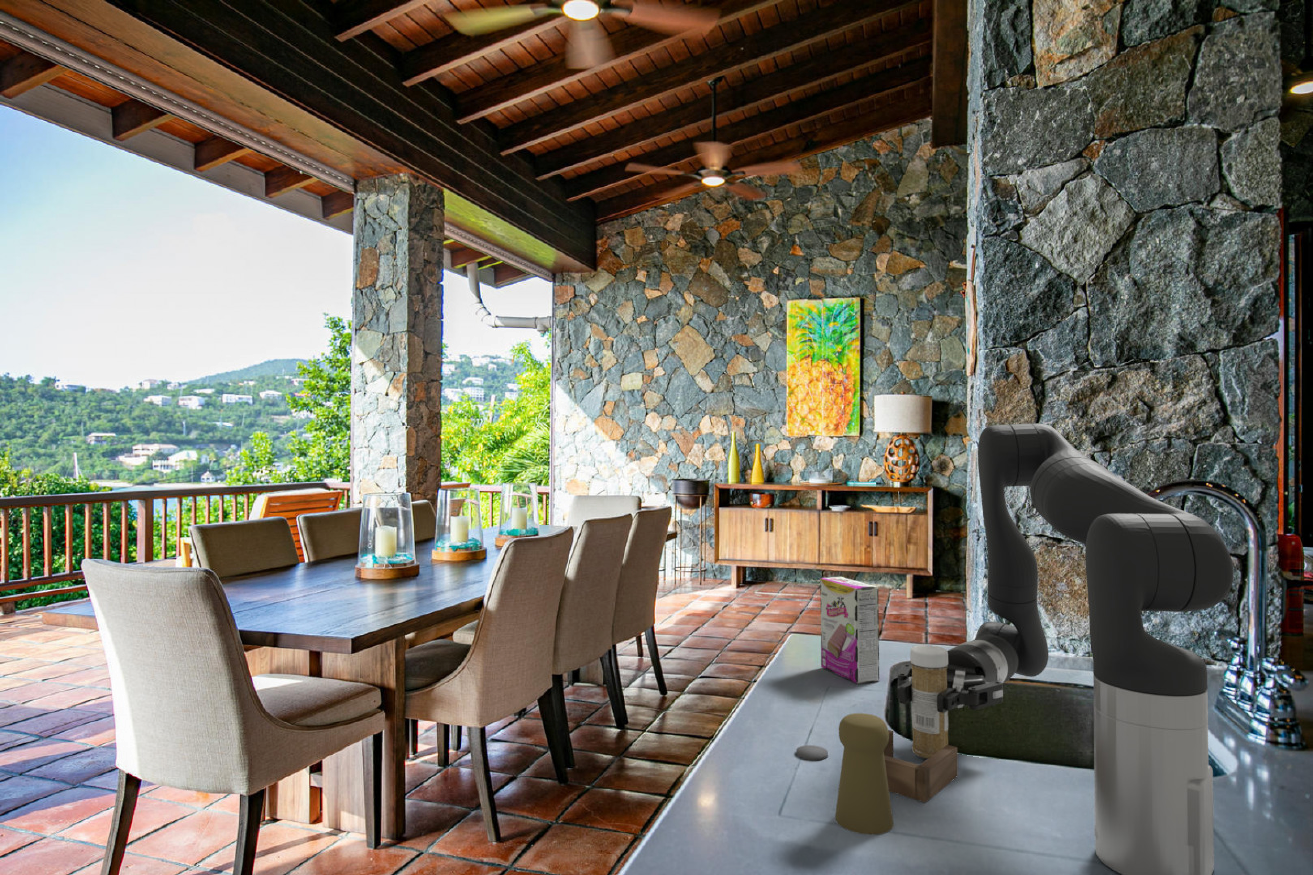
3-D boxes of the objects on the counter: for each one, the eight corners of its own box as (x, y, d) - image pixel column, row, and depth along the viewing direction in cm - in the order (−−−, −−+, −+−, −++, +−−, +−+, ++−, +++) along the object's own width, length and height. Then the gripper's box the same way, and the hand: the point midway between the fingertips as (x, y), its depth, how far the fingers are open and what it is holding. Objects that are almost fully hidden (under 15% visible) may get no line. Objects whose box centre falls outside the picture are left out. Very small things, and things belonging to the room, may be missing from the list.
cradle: (957, 776, 94) (957, 747, 94) (925, 802, 87) (925, 770, 87) (884, 756, 100) (884, 728, 100) (849, 778, 93) (849, 749, 93)
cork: (850, 802, 87) (849, 703, 87) (902, 818, 83) (902, 715, 83) (825, 822, 82) (824, 717, 83) (879, 840, 79) (878, 730, 79)
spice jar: (956, 755, 99) (955, 649, 99) (933, 763, 96) (932, 654, 96) (926, 744, 103) (925, 641, 103) (903, 751, 100) (902, 646, 100)
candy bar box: (819, 668, 141) (818, 577, 142) (842, 665, 143) (841, 575, 143) (856, 685, 131) (855, 587, 131) (880, 681, 133) (880, 585, 133)
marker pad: (833, 753, 101) (833, 750, 101) (817, 762, 98) (817, 759, 98) (806, 745, 104) (806, 742, 104) (790, 754, 101) (790, 751, 101)
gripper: (922, 636, 115) (867, 659, 102) (1024, 652, 105) (978, 681, 93) (922, 687, 115) (868, 717, 102) (1025, 708, 105) (979, 744, 92)
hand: (920, 699), depth 97 cm, fingers closed on spice jar, 4 cm apart
